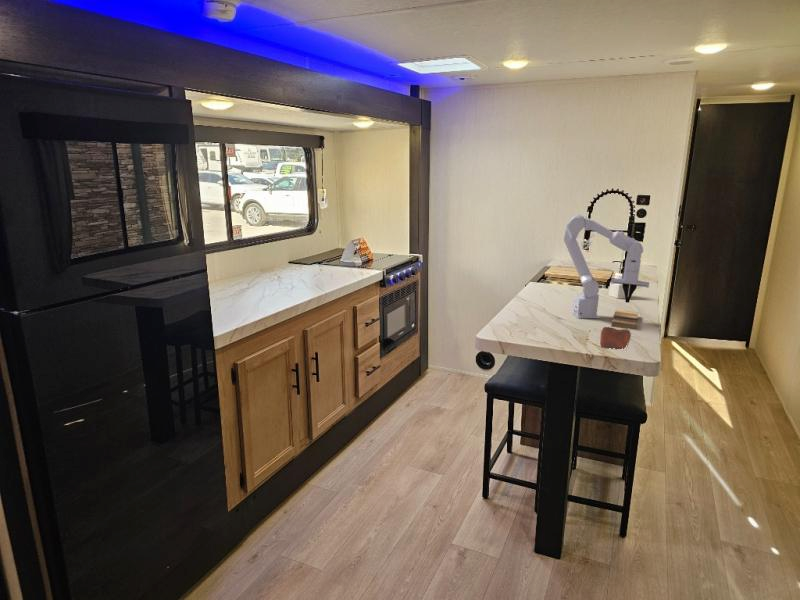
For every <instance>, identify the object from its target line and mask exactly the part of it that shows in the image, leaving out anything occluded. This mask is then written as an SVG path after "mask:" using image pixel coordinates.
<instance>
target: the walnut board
mask: <svg viewBox="0 0 800 600" xmlns="http://www.w3.org/2000/svg"><path fill="white" fill-rule="evenodd" d="M637 321H638V317H637V318H629V317H622V316H614V315H613V318H612V320H611V325H610V326H611V327H612V328H615V327H616V328H622V329H628V328H630V329H629V330H636V329H637V328H636V327H637Z"/></svg>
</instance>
